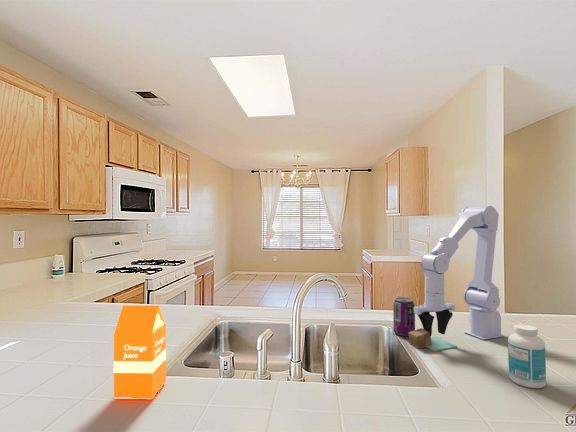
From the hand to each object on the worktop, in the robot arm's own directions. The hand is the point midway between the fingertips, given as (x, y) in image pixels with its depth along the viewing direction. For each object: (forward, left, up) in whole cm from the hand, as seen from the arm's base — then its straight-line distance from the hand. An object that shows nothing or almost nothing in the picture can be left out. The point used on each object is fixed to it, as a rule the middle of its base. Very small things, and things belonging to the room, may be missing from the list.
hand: (434, 334), depth 106 cm
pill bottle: (-3, +27, -3) cm, 27 cm away
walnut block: (+3, 0, 0) cm, 3 cm away
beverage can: (+3, -11, -3) cm, 12 cm away
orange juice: (+86, 0, -3) cm, 86 cm away
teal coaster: (0, 0, -3) cm, 3 cm away
